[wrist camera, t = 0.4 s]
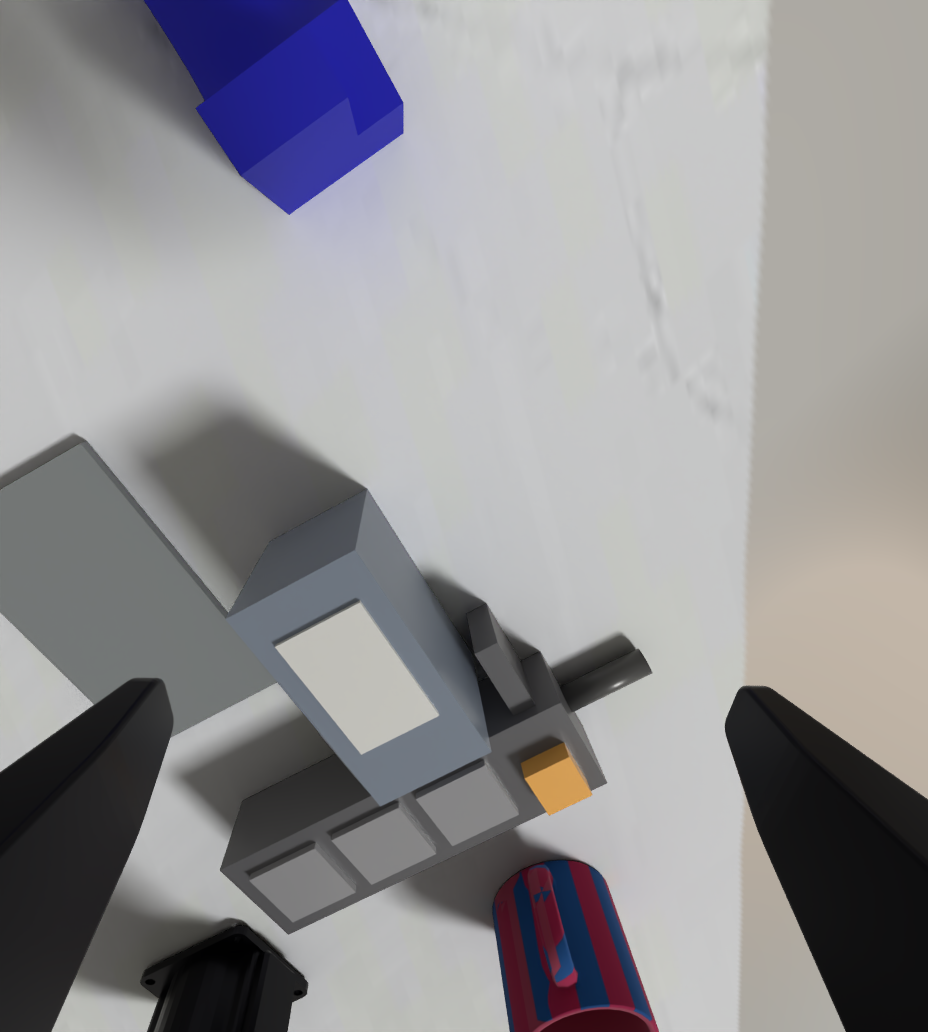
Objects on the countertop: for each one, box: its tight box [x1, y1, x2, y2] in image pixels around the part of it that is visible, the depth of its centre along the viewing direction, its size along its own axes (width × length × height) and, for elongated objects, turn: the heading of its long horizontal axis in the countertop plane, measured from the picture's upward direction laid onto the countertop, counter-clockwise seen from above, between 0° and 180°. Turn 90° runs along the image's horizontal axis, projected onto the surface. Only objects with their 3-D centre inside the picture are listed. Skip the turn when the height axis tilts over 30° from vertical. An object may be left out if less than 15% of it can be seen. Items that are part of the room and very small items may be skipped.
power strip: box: [220, 604, 652, 935], centre depth 24 cm, size 20×8×4 cm, turn 118°
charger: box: [226, 489, 491, 807], centre depth 21 cm, size 4×9×6 cm, turn 28°
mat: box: [0, 441, 277, 738], centre depth 22 cm, size 7×12×1 cm, turn 28°
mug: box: [492, 860, 659, 1032], centre depth 28 cm, size 7×10×7 cm
